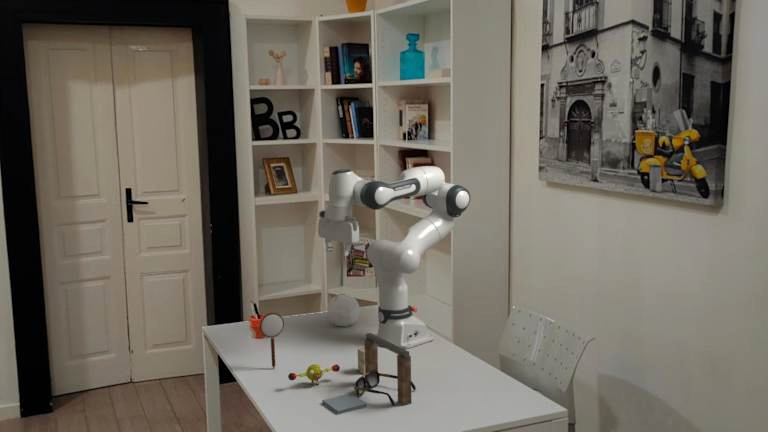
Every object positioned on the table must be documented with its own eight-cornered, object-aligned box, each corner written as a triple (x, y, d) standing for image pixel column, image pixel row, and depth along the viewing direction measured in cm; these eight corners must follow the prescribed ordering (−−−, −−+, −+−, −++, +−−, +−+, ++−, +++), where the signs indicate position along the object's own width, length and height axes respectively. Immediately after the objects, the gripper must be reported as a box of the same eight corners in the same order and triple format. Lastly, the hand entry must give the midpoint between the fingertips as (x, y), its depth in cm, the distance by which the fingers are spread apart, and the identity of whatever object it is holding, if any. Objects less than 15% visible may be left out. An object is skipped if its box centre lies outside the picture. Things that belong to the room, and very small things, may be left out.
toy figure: (292, 392, 240) (291, 372, 239) (286, 387, 245) (285, 367, 244) (343, 382, 248) (343, 362, 247) (336, 377, 253) (336, 357, 252)
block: (368, 368, 261) (367, 346, 259) (374, 372, 257) (373, 349, 256) (358, 371, 259) (357, 348, 257) (364, 374, 255) (363, 351, 254)
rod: (370, 337, 247) (370, 332, 246) (409, 356, 227) (409, 351, 227) (366, 338, 246) (365, 333, 246) (404, 357, 226) (404, 352, 226)
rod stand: (373, 381, 249) (372, 337, 247) (411, 403, 230) (410, 356, 228) (365, 382, 247) (364, 339, 245) (403, 405, 229) (402, 358, 226)
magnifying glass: (262, 371, 260) (260, 315, 257) (261, 370, 261) (258, 314, 258) (286, 367, 264) (284, 311, 261) (284, 365, 265) (282, 310, 262)
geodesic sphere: (342, 320, 299) (353, 289, 304) (314, 315, 306) (326, 285, 312) (359, 334, 310) (369, 303, 315) (332, 329, 317) (343, 299, 322)
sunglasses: (394, 406, 228) (393, 390, 227) (351, 396, 235) (351, 381, 235) (415, 390, 240) (415, 375, 239) (374, 382, 247) (374, 367, 247)
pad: (350, 396, 237) (350, 393, 236) (367, 406, 228) (367, 403, 228) (322, 403, 231) (322, 400, 231) (338, 414, 223) (337, 411, 223)
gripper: (364, 218, 262) (362, 257, 263) (330, 211, 277) (327, 248, 279) (350, 218, 258) (347, 258, 259) (316, 211, 273) (313, 249, 275)
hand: (337, 253), depth 269 cm, fingers open, 8 cm apart
